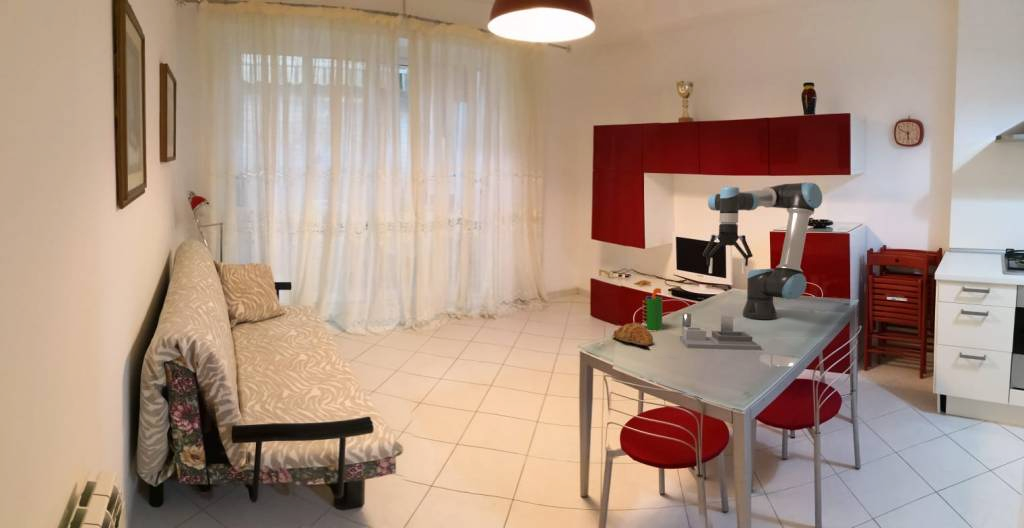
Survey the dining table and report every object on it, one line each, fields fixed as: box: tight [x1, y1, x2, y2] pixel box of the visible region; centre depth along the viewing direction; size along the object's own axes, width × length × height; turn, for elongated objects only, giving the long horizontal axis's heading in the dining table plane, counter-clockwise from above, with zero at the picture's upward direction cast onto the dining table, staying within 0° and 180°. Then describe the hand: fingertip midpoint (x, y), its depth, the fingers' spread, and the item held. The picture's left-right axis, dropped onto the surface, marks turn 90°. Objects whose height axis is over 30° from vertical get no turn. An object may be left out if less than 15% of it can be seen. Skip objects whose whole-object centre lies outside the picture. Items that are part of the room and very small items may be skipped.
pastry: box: [611, 322, 654, 346], centre depth 258 cm, size 21×13×8 cm, turn 38°
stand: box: [679, 326, 762, 351], centre depth 253 cm, size 28×18×6 cm, turn 84°
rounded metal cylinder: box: [681, 312, 692, 335], centre depth 270 cm, size 4×4×10 cm
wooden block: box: [716, 313, 734, 332], centre depth 267 cm, size 5×6×10 cm
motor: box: [642, 287, 663, 331], centre depth 280 cm, size 10×9×20 cm
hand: (726, 273), depth 266 cm, fingers open, 13 cm apart
